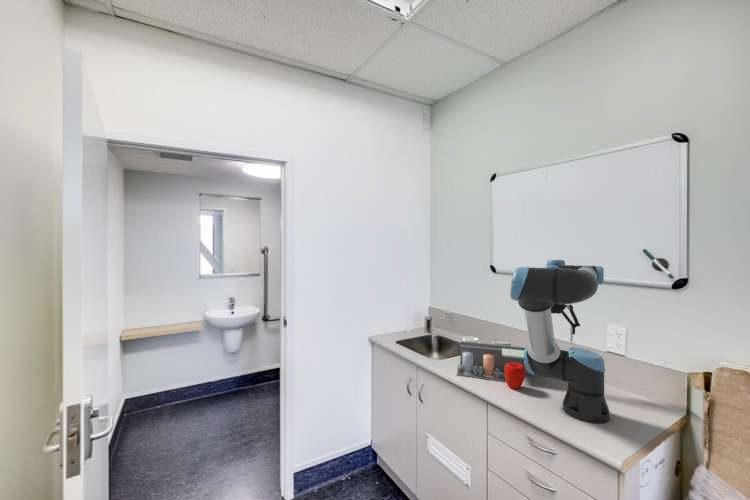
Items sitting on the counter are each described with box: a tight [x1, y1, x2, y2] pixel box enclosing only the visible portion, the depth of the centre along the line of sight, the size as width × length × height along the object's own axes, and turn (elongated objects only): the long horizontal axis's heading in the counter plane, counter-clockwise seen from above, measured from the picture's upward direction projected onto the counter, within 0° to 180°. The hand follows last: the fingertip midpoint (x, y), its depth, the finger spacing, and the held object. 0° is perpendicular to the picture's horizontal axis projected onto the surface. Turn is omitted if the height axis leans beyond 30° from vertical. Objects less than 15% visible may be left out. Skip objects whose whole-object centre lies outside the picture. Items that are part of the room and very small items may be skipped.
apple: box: [503, 362, 526, 390], centre depth 146 cm, size 9×9×11 cm
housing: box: [456, 340, 531, 382], centre depth 160 cm, size 17×39×12 cm, turn 70°
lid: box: [502, 348, 524, 359], centre depth 156 cm, size 11×18×2 cm, turn 70°
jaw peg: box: [483, 354, 494, 376], centre depth 159 cm, size 5×5×9 cm
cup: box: [462, 336, 483, 343], centre depth 189 cm, size 8×12×10 cm
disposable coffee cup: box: [491, 339, 512, 346], centre depth 176 cm, size 10×10×12 cm
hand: (555, 339), depth 150 cm, fingers open, 12 cm apart
